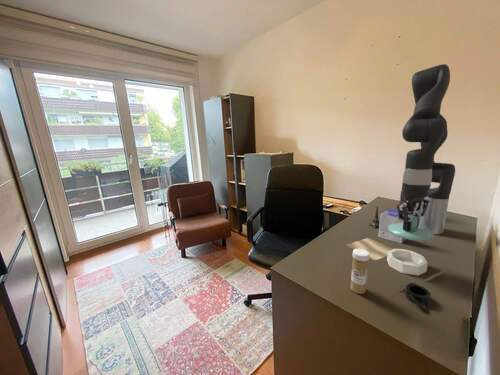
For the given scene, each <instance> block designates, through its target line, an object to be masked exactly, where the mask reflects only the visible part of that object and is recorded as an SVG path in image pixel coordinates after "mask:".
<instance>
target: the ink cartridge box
mask: <svg viewBox="0 0 500 375" xmlns="http://www.w3.org/2000/svg"><path fill="white" fill-rule="evenodd" d="M379 216H380V217H379V223H380V224H379V225H378V226H379V227H378V235H377V237H379V238H382V239H385V240H389V241H393V242H396V243H399V244H403V243H404V242H405V241H406V240H407V239H404V238H401V237H398V236H396V235H394V234H392V233H390V232H389V231H388V226H389V225H390V224H393V223H403V222H404V220H402V219H399V215H398V209H397V207H396V208H395V207H391V209H390V211H387V210H384V211H383V212H381V213H380V214H379Z"/></svg>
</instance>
